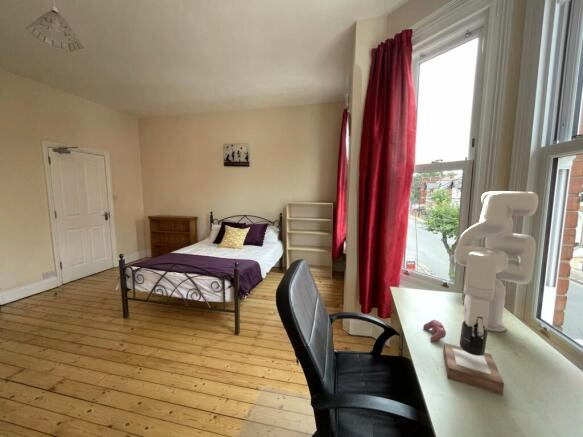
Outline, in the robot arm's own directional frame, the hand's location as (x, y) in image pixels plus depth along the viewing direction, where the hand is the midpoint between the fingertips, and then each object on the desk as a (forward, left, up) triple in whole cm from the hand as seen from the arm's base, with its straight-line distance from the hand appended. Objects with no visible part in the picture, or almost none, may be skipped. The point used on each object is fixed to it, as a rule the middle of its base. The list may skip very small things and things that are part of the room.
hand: (472, 340), depth 80 cm
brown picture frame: (0, 0, -11) cm, 11 cm away
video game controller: (-18, -9, -12) cm, 23 cm away
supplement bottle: (0, 0, -3) cm, 3 cm away
